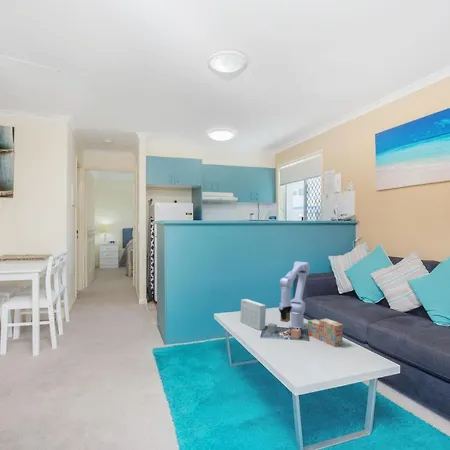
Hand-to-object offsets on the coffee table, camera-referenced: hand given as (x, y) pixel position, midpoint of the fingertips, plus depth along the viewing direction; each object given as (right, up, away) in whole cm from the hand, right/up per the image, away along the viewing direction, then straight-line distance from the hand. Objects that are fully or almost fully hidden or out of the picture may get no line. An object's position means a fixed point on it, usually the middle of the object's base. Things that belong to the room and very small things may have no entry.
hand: (285, 318), depth 200 cm
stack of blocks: (+22, -10, -10) cm, 26 cm away
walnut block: (0, -1, 0) cm, 1 cm away
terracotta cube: (+5, -10, -6) cm, 13 cm away
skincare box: (-19, -9, +15) cm, 26 cm away
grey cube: (-8, -9, +3) cm, 13 cm away
